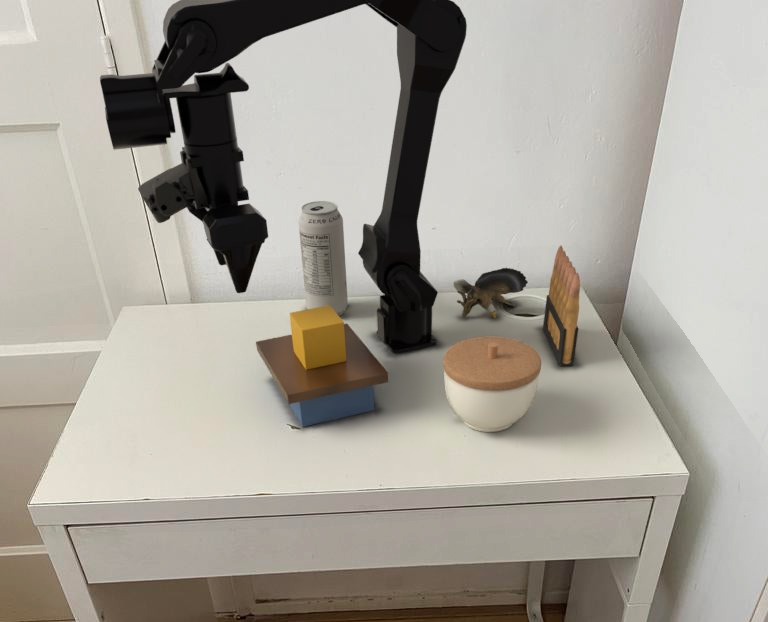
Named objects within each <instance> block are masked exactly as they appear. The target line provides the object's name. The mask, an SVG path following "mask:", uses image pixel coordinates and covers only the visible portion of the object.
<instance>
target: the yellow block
mask: <svg viewBox="0 0 768 622" xmlns="http://www.w3.org/2000/svg"><path fill="white" fill-rule="evenodd" d="M289 321H290V330H291V331H290V332H291V335H292V340H293V349H294V352H295V354H296V355H297V357H298V358H299V360H300V361H301V363H302V364H303V366H304V368H305V369H306V370H308V369H312V368H317V367H322V366H326V365H331V364H336V363H340V362H345V361H346V348H345V332H344V324H345V321H344V320H343V319H342V318H341V316H338V315H337V313H336V312H335V311H334V310H333V308H332V307H331V306H330V305H328V306H323V307H318V308H313V309H307V308H306V309H303V310H298V311H293V312H289Z"/></svg>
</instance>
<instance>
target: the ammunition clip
mask: <svg viewBox="0 0 768 622" xmlns="http://www.w3.org/2000/svg"><path fill="white" fill-rule="evenodd" d="M552 267H553V268H552V273H551V275H550V282H549V289H548V294H547V295H546V300H545V307H544V308H545V309H544V316H543V324H542V332H543V333H544V336H545V338H546V341H547V342H548V345H549V347H550V349H551V352H552V354H553V356H554V358H555V360H556V362H557V365H558V367H567V366H569V367H570V366H574V364H575V359H576V358H575V357H576V352H577V351H576V349H577V343H578V334H579V327H578V320H579V312H580V292H581V279H580V274H579V272H577V271H576V267H575V266H574V265H573V262H572V261H571V260H570V258H569V256H568V255H567V253H566V251H565V250H564V247H563V246H562V245H559V247H558V248H557V251H556V253H555V256H554V263H553V266H552Z"/></svg>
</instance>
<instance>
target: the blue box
mask: <svg viewBox="0 0 768 622" xmlns="http://www.w3.org/2000/svg"><path fill="white" fill-rule="evenodd" d="M374 387H375V386H374V385H372V386H368V387H363V388H359V389H354V390H350V391H345V392H341V393H337V394H332V395H328V396H323V397H319V398H315V399H310V400H306V401H301V402H297V403H293V404H288V405H289V407H290V409H291V410H292V412H293V414H294V415H295V417H296V419H297V420H298V422H299V423H300V426H301V427H302V428H304V427H305V428H306V427H308V426H313V425H317V424H321V423H325V422H330V421H334V420H338V419H339V420H340V419H342V418H343V419H344V418H347V417H351V416H355V415H359V414H363V413H368V412H373V411H375V390H374V389H375V388H374Z"/></svg>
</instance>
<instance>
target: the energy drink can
mask: <svg viewBox="0 0 768 622" xmlns="http://www.w3.org/2000/svg"><path fill="white" fill-rule="evenodd" d="M338 207H339V206H338V204H337V203H335V202H333V201H328V200H319V201H318V200H316V201H309V202H307V203H304V204H303V205H302V206H301V213H300V215H299V218H298V219H297V220H298V221H297V222H298V233H299V242H300V244H299V245H300V254H301V265H302V274H303V284H304V295H305V296H304V297H305V306H306V310H307V309H313V308H318V307H323V306H328V305H330V306H331V307H332V308H333V310H334V311H335V312H336V313H337V315H338V316H339V317H341V316H342V315H343V314H344V313H345V310H346V309H347V308H348V305H349V300H348V299H349V298H348V283H347V267H346V266H347V265H346V249H345V234H344V233H345V231H344V218H343V216H342V214H341V213H340V211H339V209H338Z"/></svg>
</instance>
